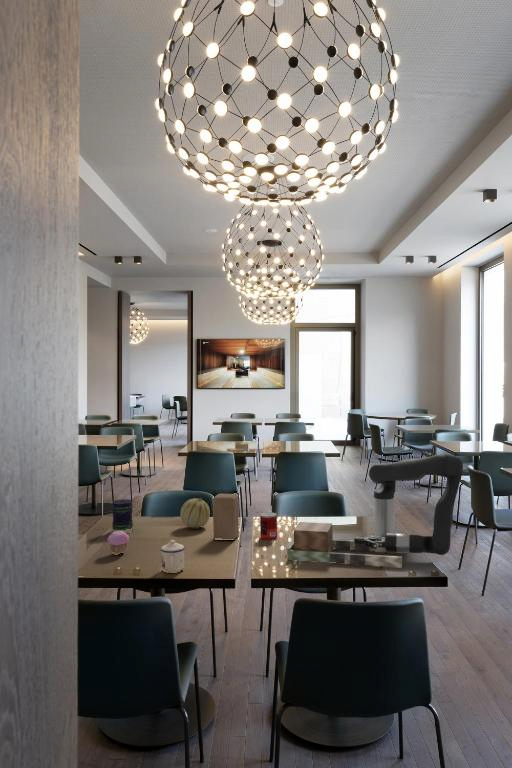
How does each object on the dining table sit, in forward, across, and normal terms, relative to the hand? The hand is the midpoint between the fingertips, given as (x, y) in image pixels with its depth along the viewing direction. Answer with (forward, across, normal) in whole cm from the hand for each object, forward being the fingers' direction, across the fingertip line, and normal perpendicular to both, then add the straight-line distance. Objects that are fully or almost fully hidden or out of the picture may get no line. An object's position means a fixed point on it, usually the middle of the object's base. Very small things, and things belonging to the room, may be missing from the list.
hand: (354, 540), depth 246 cm
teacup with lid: (+66, +33, +7) cm, 74 cm away
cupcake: (+98, +17, +7) cm, 100 cm away
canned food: (+42, -22, +7) cm, 47 cm away
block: (+61, -16, +8) cm, 63 cm away
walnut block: (+17, +1, +7) cm, 18 cm away
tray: (+3, 0, +7) cm, 8 cm away
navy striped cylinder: (+114, -18, +8) cm, 116 cm away
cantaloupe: (+82, -32, +8) cm, 88 cm away
